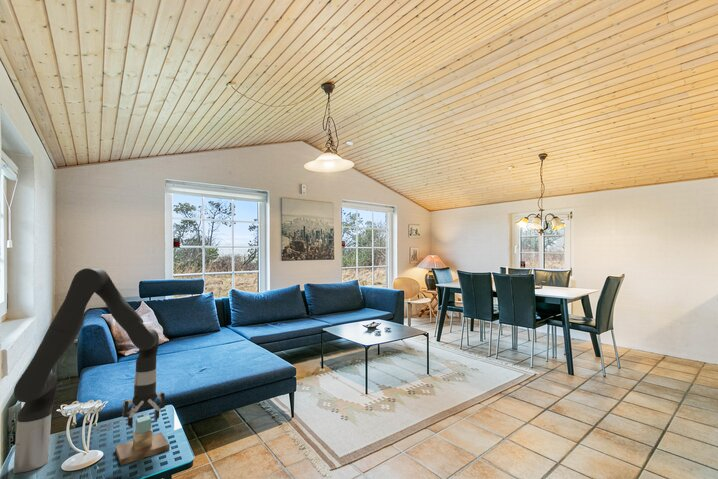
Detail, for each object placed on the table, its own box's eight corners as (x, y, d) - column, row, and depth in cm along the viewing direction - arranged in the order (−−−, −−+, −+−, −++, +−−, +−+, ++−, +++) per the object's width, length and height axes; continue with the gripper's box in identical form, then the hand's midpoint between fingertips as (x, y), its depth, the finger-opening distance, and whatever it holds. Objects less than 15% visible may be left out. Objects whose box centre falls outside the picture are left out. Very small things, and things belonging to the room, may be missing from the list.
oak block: (135, 450, 132) (136, 435, 132) (133, 444, 136) (133, 430, 136) (152, 445, 135) (152, 430, 136) (148, 439, 139) (149, 425, 140)
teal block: (137, 434, 133) (138, 422, 133) (135, 430, 136) (135, 418, 136) (150, 430, 136) (151, 419, 136) (148, 426, 139) (148, 415, 139)
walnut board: (120, 465, 125) (121, 459, 125) (115, 451, 135) (115, 445, 135) (169, 449, 136) (169, 444, 136) (161, 437, 146) (161, 432, 146)
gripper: (125, 388, 130) (123, 432, 128) (167, 379, 139) (166, 420, 138) (122, 383, 135) (120, 425, 134) (162, 375, 145) (161, 414, 144)
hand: (143, 423), depth 136 cm, fingers open, 8 cm apart
